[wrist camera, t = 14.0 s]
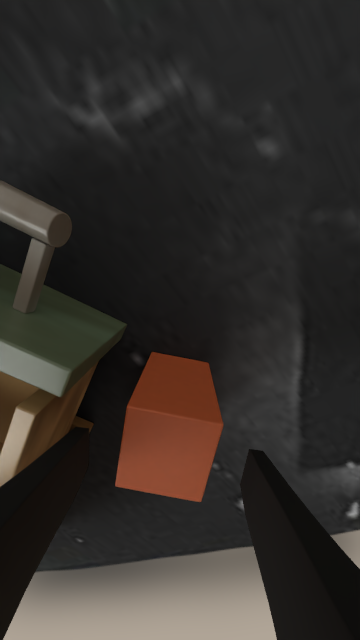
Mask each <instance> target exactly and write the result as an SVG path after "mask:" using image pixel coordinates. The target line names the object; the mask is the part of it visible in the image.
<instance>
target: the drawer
mask: <svg viewBox="0 0 360 640" xmlns="http://www.w3.org/2000/svg"><path fill="white" fill-rule="evenodd" d="M0 221H2V222H4V223H6V224H8V225H10V226H12V227H14V228H16V229H18V230H20V231H22V232H24V233H26V234H28V235H30V236H32V237H34V238H32V240H31V243H30V247H29V250H28V254H27V257H26V261H25V264H24V268H23V271H22V274H21V273H18V272H16V271H14V270H12V269H10V268H8V267H6V266H4V265H2V264H0V487H1V486H2V485H3V484H5V483H6V482H7V481H9V480H10V479H11V478H13V477H14V476H15V475H17V474H18V473H19V472H21V471H22V470H23V469H24V468H26V467H27V466H28V465H29V464H31V463H32V462H33V461H34V460H36V459H37V458H38V457H39V456H41V455H42V454H43V453H44V452H46V451H47V450H48V449H49V448H50V447H52V446H53V445H54V444H55V443H56V442H58V441H59V440H60V439H61V438H63V437H64V436H65V435H66V434H67V433H68V432H69V430H70V427H71V425H72V423H73V420H74V418H75V416H76V413H77V411H78V408H79V406H80V404H81V401H82V399H83V397H84V394H85V392H86V390H87V387H88V385H89V383H90V380H91V378H92V376H93V373H94V371H95V369H96V366H97V364H98V361H99V360H100V359H101V358H102V357H103V356H104V355H105V354H106V353H107V352H108V351H109V350H110V349H111V348H112V347H113V346H114V345H115V344H116V343H117V342H118V341H119V340H120V339H121V338H122V335H123V333H124V331H125V329H126V326H127V324H125V323H123V322H121V321H119V320H117V319H115V318H113V317H111V316H109V315H107V314H104V313H102V312H100V311H98V310H96V309H94V308H92V307H90V306H88V305H86V304H83V303H81V302H79V301H77V300H75V299H73V298H71V297H69V296H67V295H65V294H63V293H60V292H58V291H56V290H54V289H52V288H50V287H48V286H46V285H44V281H45V278H46V274H47V271H48V268H49V265H50V262H51V259H52V255H53V252H54V249H55V247H61V246H63V245H64V244H65V243H66V242H67V241H68V239H69V237H70V235H71V231H72V222H71V219H70V217H69V216H68V215H67V214H66V213H64V212H62V211H60V210H58V209H56V208H54V207H52V206H51V205H49V204H47V203H45V202H43V201H41V200H39V199H37V198H35V197H33V196H31V195H29V194H27V193H25V192H23V191H21V190H19V189H17V188H15V187H13V186H11V185H9V184H7V183H5V182H3V181H1V180H0ZM35 238H36V239H35Z"/></svg>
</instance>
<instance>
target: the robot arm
mask: <svg viewBox="0 0 360 640" xmlns="http://www.w3.org/2000/svg"><path fill="white" fill-rule="evenodd" d="M88 466H89V428H83V427H75V428H73V429H72V430H71V431H70V432H69V433H67V434H66V435H65V436H64V437H63V438H61V439H60V440H59V441H58V442H56V443H55V444H54V445H53V446H52V447H50V448H49V449H48V450H47V451H46V452H44V453H43V454H42V455H41V456H39V457H38V458H37V459H36V460H34V461H33V462H32V463H31V464H29V465H28V466H27V467H26V468H24V469H23V470H22V471H21V472H19V473H18V474H17V475H15V476H14V477H13V478H11V479H10V480H9V481H7V482H6V483H5V484H3V485H2V486H1V487H0V640H3V638H4V636H5V634H6V632H7V630H8V627H9V625H10V623H11V621H12V619H13V617H14V614H15V612H16V610H17V608H18V606H19V604H20V601H21V599H22V597H23V595H24V593H25V591H26V588H27V587H28V585H29V583H30V581H31V579H32V577H33V575H34V573H35V571H36V569H37V567H38V565H39V563H40V562H41V560H42V558H43V556H44V554H45V552H46V550H47V548H48V547H49V545H50V543H51V541H52V539H53V537H54V535H55V533H56V532H57V530H58V528H59V526H60V524H61V522H62V520H63V518H64V517H65V515H66V513H67V511H68V509H69V507H70V505H71V503H72V501H73V500H74V498H75V496H76V494H77V492H78V489H79V487H80V485H81V482H82V480H83V478H84V475H85V473H86V470H87V468H88ZM240 486H241V492H242V498H243V504H244V510H245V515H246V519H247V523H248V527H249V531H250V535H251V538H252V542H253V546H254V550H255V554H256V557H257V561H258V564H259V568H260V572H261V576H262V580H263V583H264V587H265V591H266V595H267V599H268V602H269V606H270V611H271V615H272V619H273V623H274V627H275V632H276V637H277V640H360V569H359V568H358V567H357V566H356V565H355V564H354V563H353V561H351V559H350V558H349V557H348V556H347V555H346V554H345V552H344V551H343V550H342V549H341V548H340V547H339V546H338V544H337V543H336V542H335V541H334V540H333V538H332V537H331V536H330V535H329V534H328V533H327V531H326V530H325V529H324V528H323V527H322V526H321V524H320V523H319V522H318V521H317V520H316V518H315V517H314V516H313V515H312V514H311V512H310V511H309V510H308V509H307V507H306V506H305V505H304V504H303V502H302V501H301V500H300V499H299V497H298V496H297V495H296V494H295V492H294V491H293V490H292V488H291V487H290V486H289V485H288V483H287V482H286V481H285V479H284V478H283V477H282V475H281V474H280V473H279V471H278V470H277V469H276V467H275V466H274V465H273V464H272V462H271V461H270V460H269V458H268V457H267V456H266V454H265V453H264V452H263V451H260V450H252V449H249V452H248V456H247V460H246V464H245V468H244V472H243V476H242V480H241V484H240Z"/></svg>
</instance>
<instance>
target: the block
mask: <svg viewBox="0 0 360 640" xmlns="http://www.w3.org/2000/svg"><path fill="white" fill-rule="evenodd" d="M222 429H223V421H222V417H221V413H220V409H219V405H218V400H217V396H216V392H215V388H214V384H213V380H212V376H211V371H210V367H209V363H207V362H202V361H197V360H192V359H187V358H181V357H176V356H171V355H166V354H161V353H156V352H152V353H151V355H150V357H149V359H148V361H147V363H146V366H145V368H144V370H143V372H142V374H141V377H140V379H139V381H138V383H137V385H136V388H135V390H134V392H133V394H132V396H131V399H130V401H129V403H128V405H127V408H126V415H125V422H124V429H123V435H122V442H121V449H120V456H119V462H118V469H117V476H116V483H115V486H116V487H121V488H127V489H132V490H137V491H143V492H148V493H153V494H159V495H164V496H169V497H175V498H180V499H185V500H191V501H196V502H201V500H202V497H203V494H204V490H205V487H206V483H207V480H208V476H209V473H210V470H211V466H212V463H213V459H214V456H215V452H216V449H217V446H218V442H219V439H220V435H221V432H222Z"/></svg>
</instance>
